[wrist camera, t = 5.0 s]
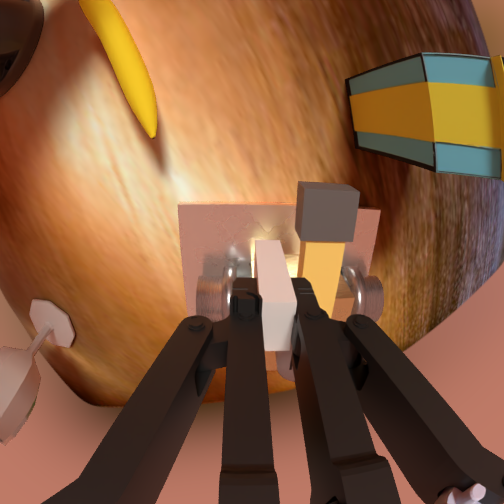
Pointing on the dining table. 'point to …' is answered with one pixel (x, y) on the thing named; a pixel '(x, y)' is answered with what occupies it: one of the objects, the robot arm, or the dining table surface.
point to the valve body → (243, 250)
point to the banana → (124, 60)
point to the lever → (321, 243)
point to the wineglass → (28, 367)
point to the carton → (433, 112)
